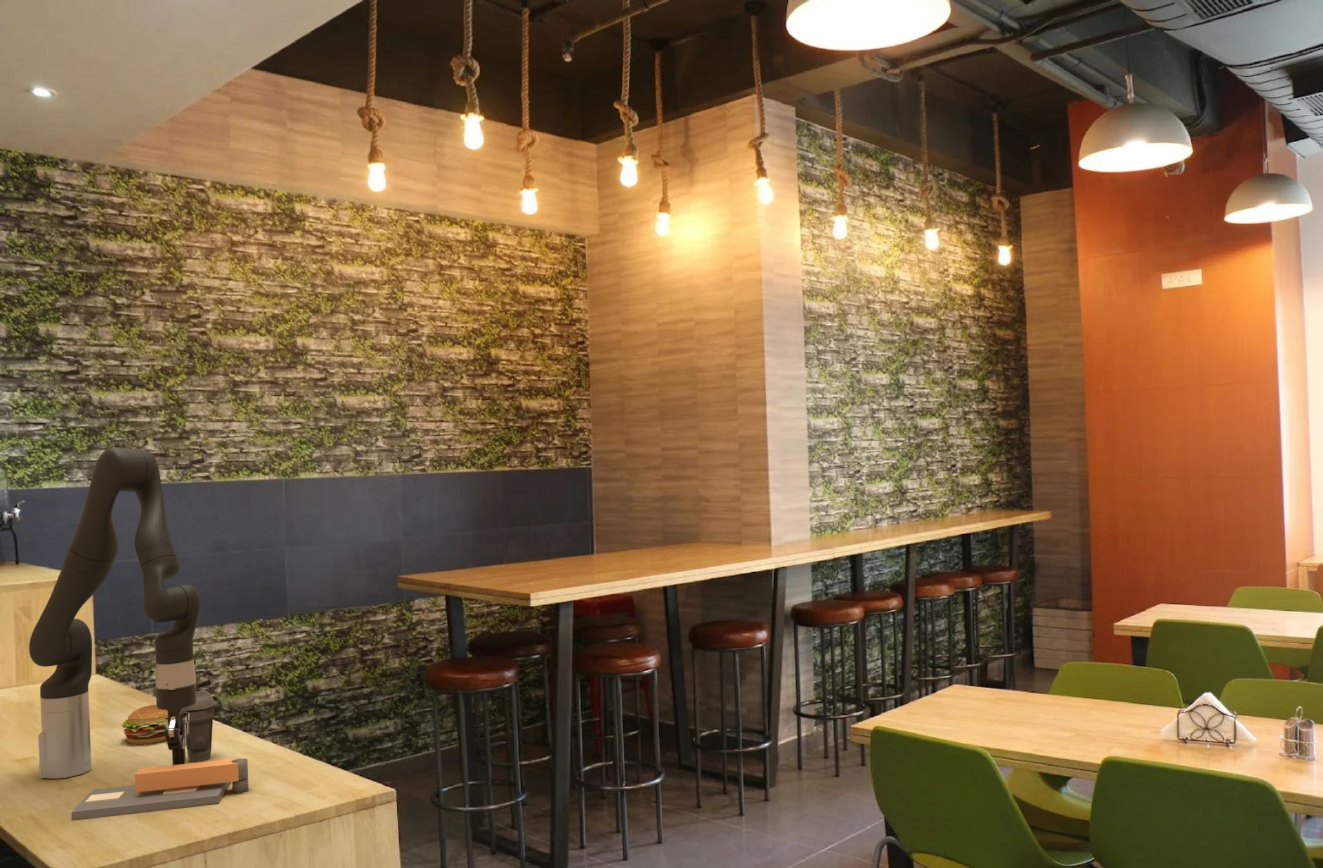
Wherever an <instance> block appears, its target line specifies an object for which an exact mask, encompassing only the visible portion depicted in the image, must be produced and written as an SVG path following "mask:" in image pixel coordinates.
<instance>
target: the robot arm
mask: <svg viewBox="0 0 1323 868" xmlns="http://www.w3.org/2000/svg"><path fill="white" fill-rule="evenodd" d="M159 468H160V467H159V465H158V462H157V460H156V457H155V455H153V454H152V452H150V451H149V450H145V449H139V448H125V447H110V448H108V449H105V450H104V451H103V452H102V453H101V454H100V455H99V457H98V459H97V461H96V463H95V466H94V468H93V472H92V477H91V479H90V485H89V488H88V492H87V496H86V499H85V503H84V507H83V510H82V513H81V516H80V518H79V521H78V525H77V527H76V529H75V532H74V535H73V538H72V539H71V541H70V544H69V546H68V550H67V552H66V555H65V558H64V560H63V563H62V567H61V569H60V572H59V575H58V577H57V580H56V582H55V584H54V586H53V589H52V592H51V593H50V594H51V595H50V597H49V599H48V601H47V603H46V605H45V607H44V609H43V611H42V613H41V614H40V617H39V619H37V623H36V624H35V626H34V628H33V629H32V630H33V631H32V633H31V635H30V639H29V644H28V652H29V657H30V659H31V660H32V662H33V663H34V664H35V665H37V666H39V667H44V668H45V667H53V666H56V668H55V670H54V672H53V673H52V674H51V675H50V676H49V677H48V678H47V679H46V680H45V681H43V682H42V683H41V684H40V687H39V688H40V689H39V697H40V698H39V699H40V719H41V721H40V722H41V723H40V724H41V732H40V733H39V734H38V740H37V741H38V759H39V762H38V763H39V779H54V780H55V779H64V778H65V779H66V778H71V777H74V776H75V777H77V776H79V775H82V774H85V773H88V772H89V771H91V770H92V746H91V745H92V744H91V722H90V719H91V718H90V698H89V697H90V695H89V684H90V681H91V678H92V675H93V671H92V668H93V638H92V633H91V631H90V630H91V629H90V628H89V626H88V625H87V624H86V622H84V621H83V620H82V619H79V618H76V616H77V614H78V612H79V611H80V610H81V608H82V607H83V606H84V605H85V604H86V603H87V601H88V600H89V599H90V598H91V597H92V596H94V594H95V593H96V592H97V591H98V590H99V589H100V588H101V587H102V585H103V584H104V582H106V580H107V578H108V577H109V575H110V572H111V570H112V568H113V566H114V562H115V560H116V557H117V555H118V551H119V541H118V536H117V532H116V529H115V526H114V522H113V517H112V513H113V509H114V506H115V501H116V500H117V499H116V498H117V497H118V495H119V493H120V492H126V493H127V492H130V493H131V492H133V493H135V495H136V497H137V499H138V501H139V504H140V515H139V516H140V517H139V521H138V525H137V528H136V531H135V537H134V548H135V552H136V556H137V558H138V562H139V566H140V569H141V571H142V576H143V611H144V613H145V615H146V616H147V618H149V620H150V621H152V622H154V623H157V624H159V623H166V622H167V623H168V622H172V621H174V624H173V626H172V628H171V629H169V630H167V631H165V632H163V633H161V634H159V635H158V636H156V639H155V642H154V643H155V661H156V662H155V665H156V667H155V676H154V677H155V701H156V704H155V705H157V708H158V709H161V710H167V711H168V718H165V726H166V727H167V729H165V731H164V733H165V737H166V741H165V742H166V743H167V744H166V745H167V749H168V750H169V751H171V755H172V756H171V757H172V765H179V764H187V761H186V748H187V746H186V745H187V743H186V742H188V734H189V724H190V715H189V713H187V709H186V707H189V706H192V705H194V704H195V703H196V701H197V699H196V690H197V681H196V680H197V679H196V675H197V674H196V666H195V662H194V661H195V659H194V641H193V640H194V635H195V631H196V627H197V623H198V618H199V615H200V609H201V597H200V594H199V592H198V590H197V588H196V587H194V586H193V585H191V584H178V585H173V586H172V585H171V586H165V585H164V581H165V580H169V579H171V578H172V577H175V576H176V575H177V574H178V573H179V571H180V568H181V567H180V564H179V563H180V562H179V559H178V556H177V553H176V551H175V547H174V543H173V541H172V539H171V535H170V531H169V528H168V522H167V517H166V515H167V514H166V510H165V502H164V500H165V499H164V494H163V493H164V492H163V488H162V487H163V486H162V480H161V479H162V478H161V472H160V469H159Z"/></svg>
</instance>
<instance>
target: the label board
mask: <svg viewBox="0 0 1323 868" xmlns="http://www.w3.org/2000/svg"><path fill="white" fill-rule="evenodd" d="M230 784H231V785H232V793H234V794H240V793H245V792H247V791H249V789H250V788H249V777H248V778H246V779H243V780H239V781H235V782H226V783H216V784H207V785H198V786H189V787H180V788H171V789H162V790H153V791H144V792H135V784H132V785H123V786H112V787H105V788H104V787H103V788H95V789H92V790H91V792H90V793H88V795H86V797H84V799H83V800H81V802H80V803H79V804H78V805H77V806H76V807H75V808H74V809H72V811H71V812H70V813H71V821H75V820H77V821H78V820H83V819H84V820H85V819H92V818H93V819H94V818H102V817H110V816H111V817H112V816H119V815H127V814H128V815H129V814H137V813H147V812H155V811H164V810H172V809H182V808H189V807H191V808H192V807H197V806H198V807H199V806H207V805H217V804H219V803H220V801H221V799H223V796H224V794H225V793H226V791H227V789H228V788H229V786H230Z"/></svg>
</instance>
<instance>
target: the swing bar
mask: <svg viewBox="0 0 1323 868" xmlns="http://www.w3.org/2000/svg"><path fill="white" fill-rule="evenodd" d="M248 763H249V762H248V758H242V757H239V758H229V759H218V760H207V761H201V762H189V763H186V764H179V765H173V764H172V765H171V764H170V765H163V766H160V765H159V766H151V767H143V768H139V769H138V770H137V771H136V773H134V785H135V792H144V791H153V790H162V789H171V788H180V787H189V786H198V785H207V784H216V783H226V782H230V783H232V782H235V781H239V780H243V779H246V778H248V779H249V768H248V767H249V765H248Z"/></svg>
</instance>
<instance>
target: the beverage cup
mask: <svg viewBox="0 0 1323 868" xmlns="http://www.w3.org/2000/svg"><path fill="white" fill-rule="evenodd" d="M196 699H197V701H196V703H195V704H194V705H192V706H189V707H186V709H187V713H189V715H190V724H189V734H188V742H186V743H187V745H186V752H187V758H188V762H189V763H198V762H206V761H209V760H210V759H211V757H212V756H211V754H212V746H213V745H212V742H213V740H212V739H213V725H214V724H213V722H214V714H215V707H216V704H215V701H214V698H213V696H212V695H211V693H209V692H208V691H207V690H206V689H200V688H199V689H198V688H196Z"/></svg>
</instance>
